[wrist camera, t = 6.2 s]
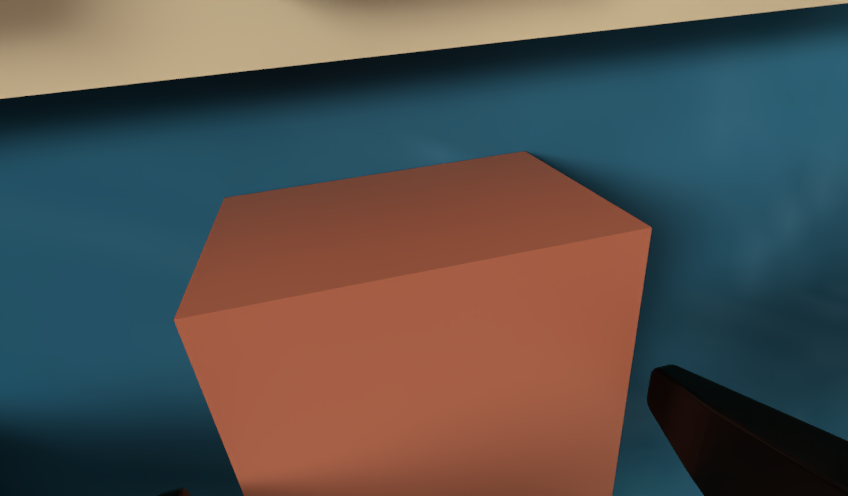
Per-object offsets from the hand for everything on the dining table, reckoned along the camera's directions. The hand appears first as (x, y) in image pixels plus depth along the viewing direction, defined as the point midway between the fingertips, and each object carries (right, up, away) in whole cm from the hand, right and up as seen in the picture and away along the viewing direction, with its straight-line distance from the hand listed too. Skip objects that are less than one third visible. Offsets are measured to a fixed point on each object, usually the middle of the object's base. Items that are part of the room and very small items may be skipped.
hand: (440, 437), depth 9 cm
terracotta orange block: (-1, +2, +4) cm, 5 cm away
